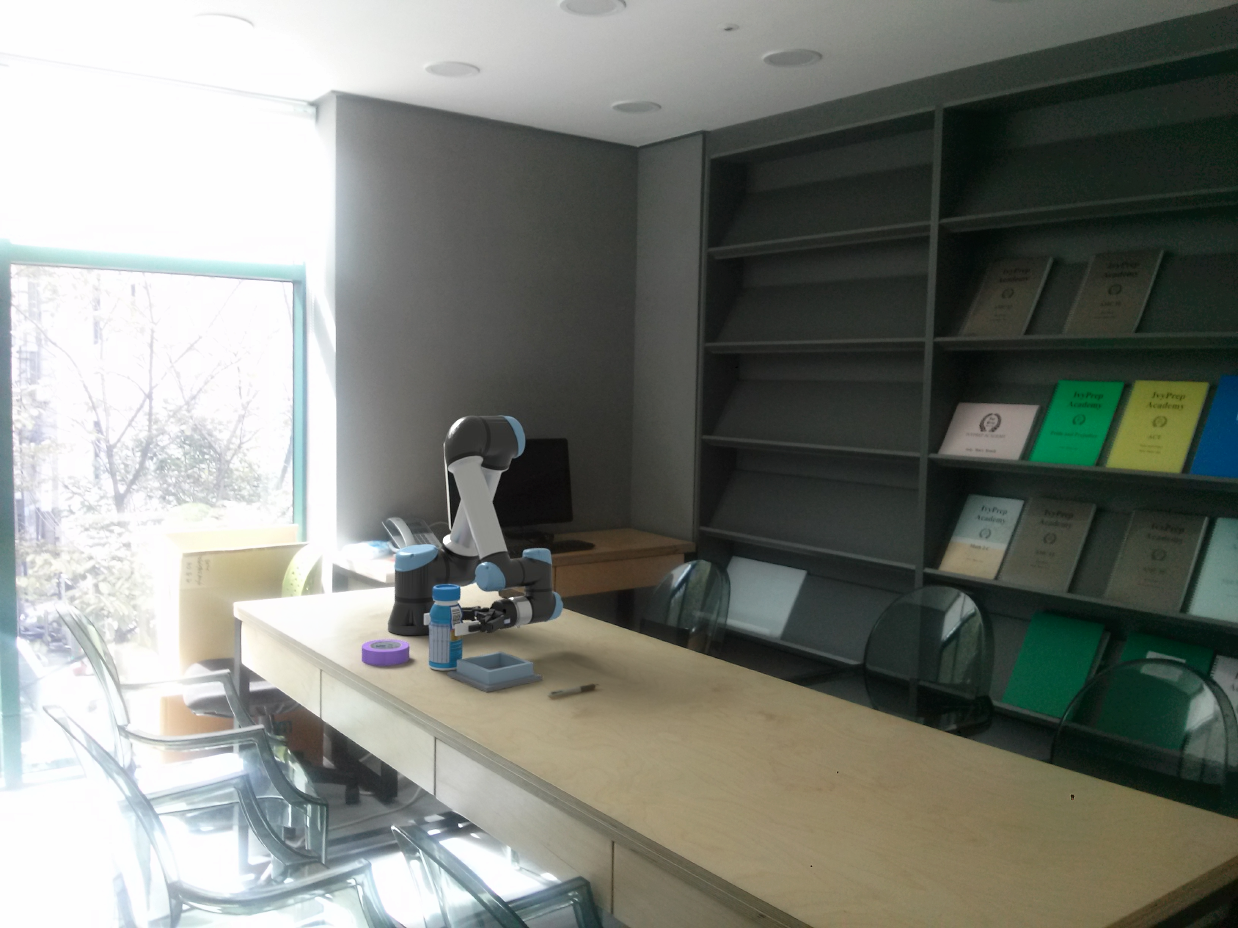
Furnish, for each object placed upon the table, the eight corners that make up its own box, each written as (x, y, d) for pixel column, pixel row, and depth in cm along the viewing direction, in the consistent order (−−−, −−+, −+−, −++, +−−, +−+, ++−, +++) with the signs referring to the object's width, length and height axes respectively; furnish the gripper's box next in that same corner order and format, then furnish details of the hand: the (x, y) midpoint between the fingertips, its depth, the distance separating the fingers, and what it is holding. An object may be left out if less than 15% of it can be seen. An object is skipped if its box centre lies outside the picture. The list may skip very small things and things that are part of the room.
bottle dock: (447, 675, 242) (447, 659, 241) (502, 664, 253) (502, 649, 252) (486, 692, 230) (486, 674, 230) (542, 679, 241) (542, 663, 241)
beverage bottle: (428, 672, 245) (429, 590, 243) (427, 662, 253) (429, 583, 251) (463, 671, 246) (465, 589, 245) (462, 661, 254) (463, 582, 253)
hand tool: (532, 606, 321) (533, 591, 321) (521, 607, 319) (521, 592, 319) (506, 595, 337) (506, 581, 337) (495, 596, 335) (495, 582, 334)
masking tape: (416, 662, 253) (416, 647, 253) (370, 668, 247) (370, 653, 247) (399, 651, 263) (399, 637, 263) (355, 657, 257) (355, 642, 257)
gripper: (539, 636, 253) (469, 650, 238) (481, 618, 271) (412, 629, 256) (540, 607, 252) (469, 619, 238) (481, 590, 270) (412, 600, 256)
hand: (439, 624), depth 247 cm, fingers open, 13 cm apart
